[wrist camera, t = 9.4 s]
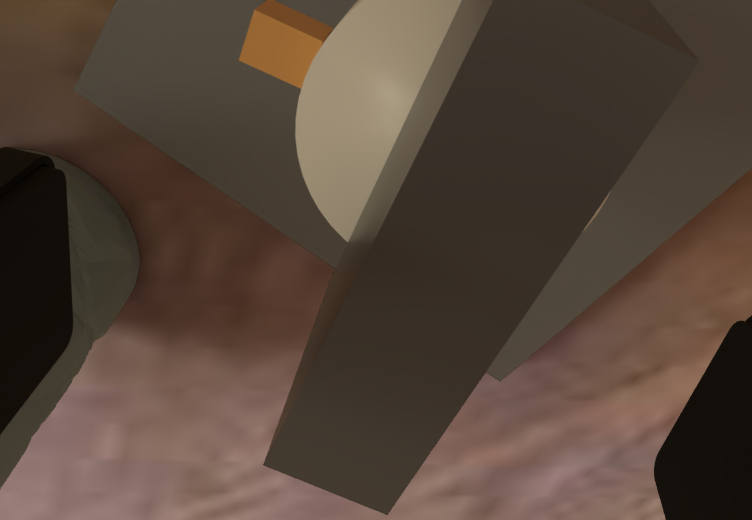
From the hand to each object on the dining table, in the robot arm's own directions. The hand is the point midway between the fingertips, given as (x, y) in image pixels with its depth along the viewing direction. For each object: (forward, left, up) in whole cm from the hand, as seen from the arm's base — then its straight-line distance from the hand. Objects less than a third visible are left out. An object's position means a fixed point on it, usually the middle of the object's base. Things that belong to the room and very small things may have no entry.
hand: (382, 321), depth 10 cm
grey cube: (0, 0, -9) cm, 9 cm away
